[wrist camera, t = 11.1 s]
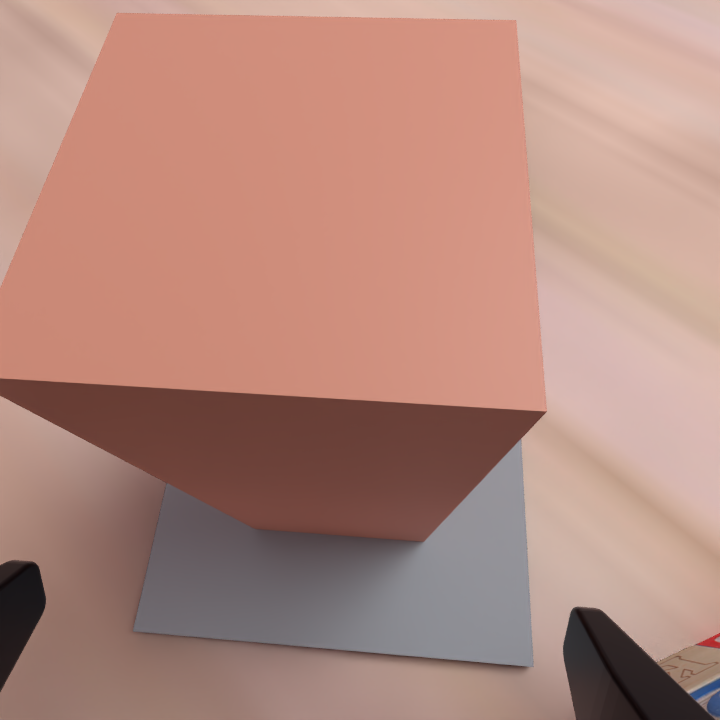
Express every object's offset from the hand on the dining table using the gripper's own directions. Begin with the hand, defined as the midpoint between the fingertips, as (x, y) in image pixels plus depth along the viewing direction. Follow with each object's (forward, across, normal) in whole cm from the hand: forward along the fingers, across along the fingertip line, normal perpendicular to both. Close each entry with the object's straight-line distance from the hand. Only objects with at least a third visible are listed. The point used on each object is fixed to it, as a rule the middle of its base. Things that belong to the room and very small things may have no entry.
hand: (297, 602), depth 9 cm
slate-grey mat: (+9, 0, +2) cm, 10 cm away
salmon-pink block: (+9, 0, +2) cm, 9 cm away
